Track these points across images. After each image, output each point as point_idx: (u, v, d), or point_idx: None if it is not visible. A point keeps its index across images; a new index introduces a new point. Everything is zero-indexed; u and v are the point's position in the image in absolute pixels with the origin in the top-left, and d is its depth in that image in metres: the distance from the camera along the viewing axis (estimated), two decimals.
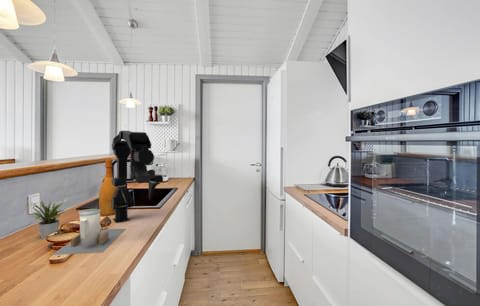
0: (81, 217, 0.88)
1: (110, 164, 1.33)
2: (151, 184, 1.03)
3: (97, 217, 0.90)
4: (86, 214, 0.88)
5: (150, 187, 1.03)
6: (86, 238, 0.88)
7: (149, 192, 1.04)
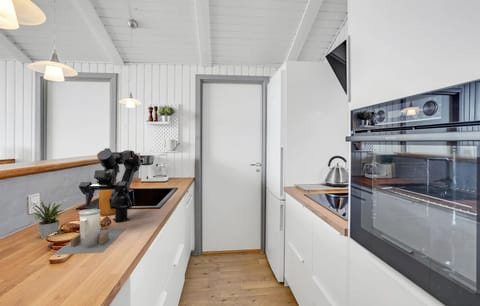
0: (81, 217, 0.88)
1: None
2: None
3: (97, 217, 0.90)
4: (86, 214, 0.88)
5: None
6: (86, 238, 0.88)
7: None
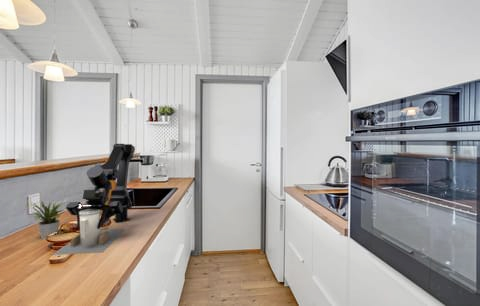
0: (81, 217, 0.88)
1: None
2: None
3: (97, 217, 0.90)
4: (86, 214, 0.88)
5: None
6: (86, 238, 0.88)
7: None
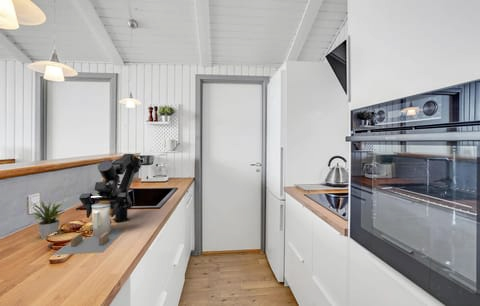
0: (93, 210, 0.98)
1: None
2: None
3: (108, 210, 1.00)
4: (98, 207, 0.97)
5: None
6: (98, 229, 0.98)
7: None
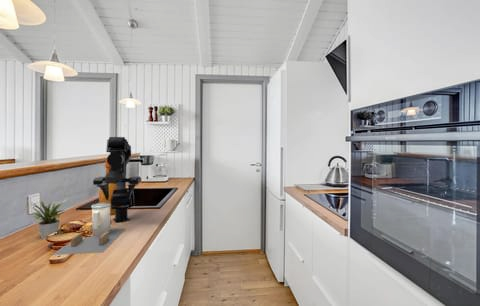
0: (93, 210, 0.98)
1: None
2: None
3: (108, 210, 1.00)
4: (98, 207, 0.97)
5: None
6: (98, 229, 0.98)
7: None
